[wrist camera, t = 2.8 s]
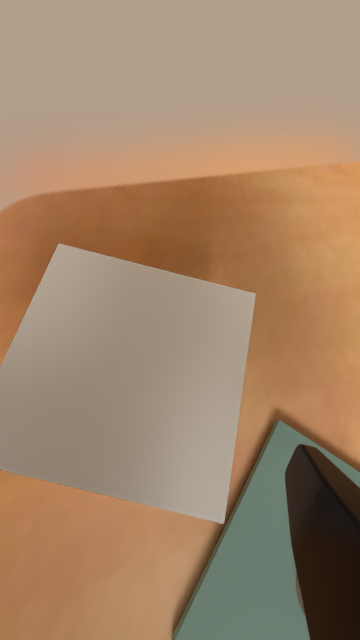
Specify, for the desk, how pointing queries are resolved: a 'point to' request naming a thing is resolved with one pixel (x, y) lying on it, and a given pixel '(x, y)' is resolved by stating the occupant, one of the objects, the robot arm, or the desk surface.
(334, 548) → the robot arm
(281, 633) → the mat
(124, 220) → the desk surface
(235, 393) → the white lidded box
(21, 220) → the desk surface
